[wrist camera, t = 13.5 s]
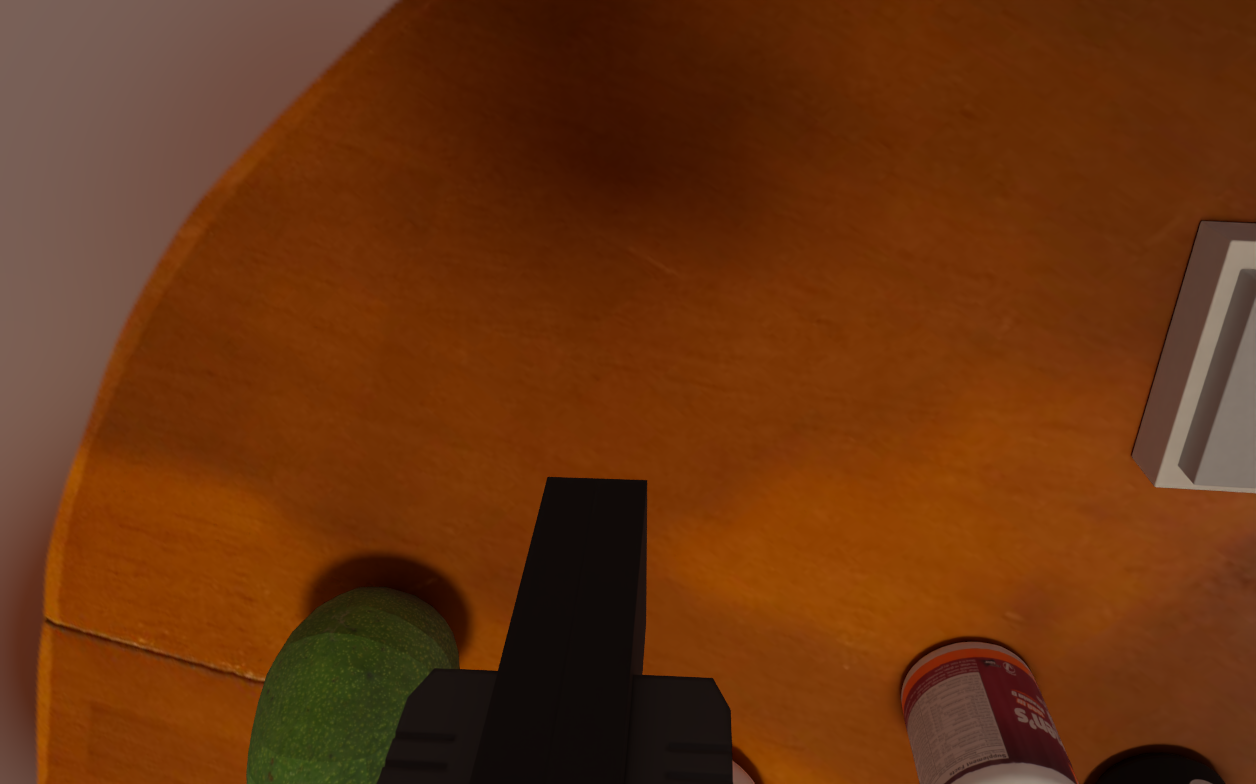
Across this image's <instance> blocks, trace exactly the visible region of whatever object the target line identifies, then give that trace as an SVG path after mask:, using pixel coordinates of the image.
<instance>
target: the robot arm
mask: <svg viewBox="0 0 1256 784" xmlns="http://www.w3.org/2000/svg"><path fill="white" fill-rule="evenodd" d="M646 561H647V480H623V479H593V478H563V477H548V478H547V481H546V485H545V489H544V493H543V497H542V501H541V505H540V509H539V513H538V517H537V520H536V524H535V528H534V532H533V536H532V540H531V544H530V548H529V552H528V556H527V560H526V563H525V567H524V571H523V575H522V579H521V583H520V587H519V591H518V595H517V599H516V602H515V606H514V610H513V614H512V618H511V622H510V626H509V630H508V634H507V638H506V642H505V645H504V649H503V653H502V657H501V661H500V665H499V669H498V671H487V670H465V669H442V668H434V669H433V670H432V671H431V672H430V674H429V675H428V676H427V677H426V678H425V679H424V680H423V681H422V682H421V683H420V684H419V685H418V687H417V688H416V689H415V690H414V691H413V692H412V693H411V694H410V695H409V696H408V698H407V701H406V703H405V706H404V709H403V712H402V715H401V717H400V720H399V723H398V726H397V728H396V731H395V738H393V740H392V742H391V745H390V748H389V751H388V754H387V756H386V759H385V767H383V768H382V770H381V773H380V776H379V779H378V782H377V784H733V764H732V736H731V710H730V708H729V706H728V704H727V703H726V701H725V699H724V697H723V695H722V694H721V692H720V690H719V688H718V687H717V685H716V683H715V681H714V679H713V678H699V677H677V676H654V675H642V671H643V657H644V644H645V630H646Z"/></svg>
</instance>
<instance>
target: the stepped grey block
mask: <svg viewBox="0 0 1256 784" xmlns="http://www.w3.org/2000/svg"><path fill="white" fill-rule="evenodd" d="M1132 458H1133V459H1134V461H1135V462H1136V463H1137V464H1138V466H1139V467H1140V468H1141V470H1142V471H1143V472H1144V474H1145V475H1146V476H1147V477H1148V479H1149V480H1150V481H1151V483H1152V484H1153V485H1154V486H1155V487H1164V488H1181V489H1197V490H1214V491H1231V492H1248V493H1256V223H1235V222H1214V221H1201V223H1200V227H1199V230H1198V233H1197V237H1196V240H1195V243H1194V247H1193V250H1192V254H1191V257H1190V260H1189V264H1188V267H1187V271H1186V274H1185V277H1184V281H1183V284H1182V287H1181V291H1180V294H1179V298H1178V301H1177V304H1176V308H1175V311H1174V315H1173V318H1172V321H1171V325H1170V328H1169V331H1168V335H1167V338H1166V342H1165V345H1164V348H1163V352H1162V355H1161V359H1160V362H1159V365H1158V369H1157V372H1156V375H1155V379H1154V382H1153V386H1152V389H1151V392H1150V396H1149V399H1148V403H1147V406H1146V409H1145V413H1144V416H1143V419H1142V423H1141V426H1140V430H1139V433H1138V436H1137V440H1136V443H1135V446H1134V450H1133V453H1132Z"/></svg>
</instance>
